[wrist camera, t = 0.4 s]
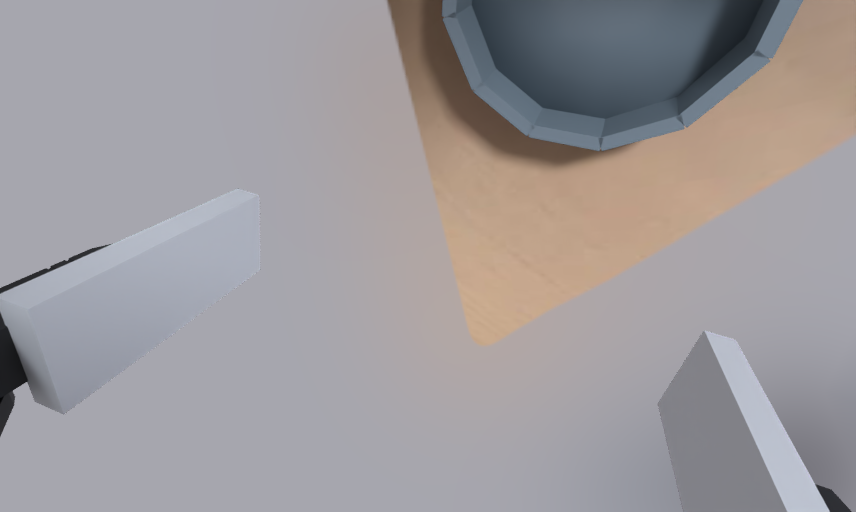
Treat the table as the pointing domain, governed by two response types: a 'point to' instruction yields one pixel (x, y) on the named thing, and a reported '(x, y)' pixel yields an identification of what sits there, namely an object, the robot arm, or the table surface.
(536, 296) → the table surface
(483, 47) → the bowl
